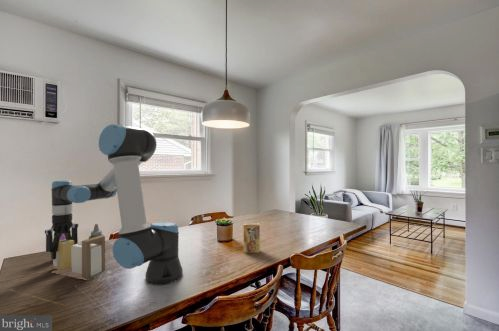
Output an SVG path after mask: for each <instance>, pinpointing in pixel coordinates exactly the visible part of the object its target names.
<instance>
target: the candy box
mask: <svg viewBox="0 0 499 331" xmlns="http://www.w3.org/2000/svg"><path fill="white" fill-rule="evenodd" d="M260 228H261V227H260V223H259V222H257V223H249V222H248V223H243V253H260V244H261V242H260V236H261V234H260V233H261V232H260V231H261V229H260Z"/></svg>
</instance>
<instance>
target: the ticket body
mask: <svg viewBox="0 0 499 331" xmlns="http://www.w3.org/2000/svg"><path fill="white" fill-rule="evenodd" d="M96 242H97V244H93V243H96ZM105 250H106V235H104V236H97V237H94V238H90V239H89V238H87V239H84V240H81V241H80V242H78V243H77V244H73V245H72V246H71V267H72V272H73V273H78V274H82V277H83V278H89V277H91V276H93V275H96V274H98V273H100V272H102V271H104V270H105V268H106V251H105Z"/></svg>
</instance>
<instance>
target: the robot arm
mask: <svg viewBox="0 0 499 331" xmlns="http://www.w3.org/2000/svg"><path fill="white" fill-rule="evenodd" d="M98 148H99V151H100V152H101V153H102V154H104V155H105V156H107V161H108V162H109V163H110V164H112V166H113V167H112V169H110V171H108V173H107V174H106V175H105V176H104V177H103V178H102V179H101V180H100V181H99V182H98V183H93V184H92V183H91V184H82V185H78V184H77V185H73V181H72V180H55V181H52V183H51V188H50V189H51V190H50V191H51V214H52V216H51V223H52V225H51V228H49V229H45V230H44V234H45V251H46V252H47V253H50V254H51V255H50V258H51V260H52V259H53V260H52V266H53V267H54V266H59V251H57V248H58V243H59V240H60V237H61V235H62V234H63V233H64V234H65V238H66V239H67V240H74V244H77V243H79V242H78V239H79V238H78V227H79V223H73V222H72V221H73V213H72V212H73V204H82V203H85V202H87V201H95V200H102V199H109V198H113V197H115V196H116V195H117V200H118V208H119V214H120V221H121V222H120V223H121V228H120V230H119V231H118V233H117V235H118V236H117V237H118V239H116V240H115V241H114V242H113V245H112V250H111V251H112V253H113V254H112V255H113V258H114V260H115V261H116V263H117V264H118V265H120V267H122V268H124V269H128V270H129V269H134V268H136V267H141V266H142V265H144V264H145V263H148V262H149V263H148V264H147V268H146V271H145V281H146V283H148V284H149V285H156V286H157V285H158V286H160V285H162V286H163V285H167V284H171V283H173V282H176V281H178V280H179V279H181V278H182V277H183V272H184V271H183V266H182V265H181V264H182V262H181V260H180V257H179V234H180V233H179V226H178V225H177V223H174V222H164V221H163V222H153V223H148V222H147V217H146V210H145V203H144V195H143V187H142V181H141V176H140V175H141V173H140V165H142V163H146V162H148V161H149V160H150V159H151V158H152V156H153V155H154V154H155V151H156V150H157V139H156V137H155V135H154V134H153V133H152V132H151V131H150V130H148V129H146V128H142V127H134V126H128V125H124V124H113V123H112V124H109V125H107V126H105V127H104V128H103V129H102V130H101V133H100V134H99V138H98Z"/></svg>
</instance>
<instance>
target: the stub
mask: <svg viewBox="0 0 499 331" xmlns="http://www.w3.org/2000/svg"><path fill="white" fill-rule="evenodd" d="M73 244H74V240H67V239H64V240H61V241H59V243H58V248H57V251H59V266H53V268H54V269H60V270H65V269H67V268H70V267H71V246H72V245H73Z"/></svg>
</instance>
